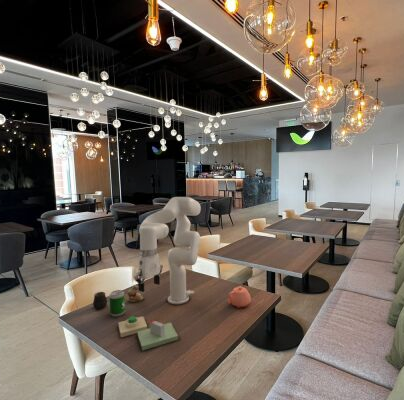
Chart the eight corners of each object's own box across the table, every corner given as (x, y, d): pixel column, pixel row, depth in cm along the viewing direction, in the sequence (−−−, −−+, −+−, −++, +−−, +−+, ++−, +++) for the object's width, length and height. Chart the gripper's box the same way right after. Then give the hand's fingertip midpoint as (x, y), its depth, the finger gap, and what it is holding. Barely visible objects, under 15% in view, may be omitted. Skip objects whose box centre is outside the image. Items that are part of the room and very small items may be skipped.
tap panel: (170, 326, 132) (170, 322, 131) (178, 339, 121) (178, 335, 121) (137, 335, 124) (137, 331, 124) (142, 350, 114) (141, 346, 113)
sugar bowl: (254, 306, 151) (254, 289, 150) (233, 312, 144) (233, 294, 143) (243, 297, 162) (243, 281, 160) (223, 302, 155) (223, 285, 154)
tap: (164, 334, 121) (164, 323, 121) (161, 337, 120) (160, 326, 119) (153, 329, 125) (153, 319, 125) (150, 332, 123) (149, 321, 123)
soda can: (120, 318, 139) (119, 296, 138) (107, 316, 141) (106, 295, 139) (128, 310, 146) (127, 290, 145) (115, 309, 148) (114, 288, 147)
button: (135, 318, 132) (135, 315, 132) (136, 322, 129) (136, 318, 129) (128, 320, 130) (127, 317, 130) (129, 324, 127) (128, 320, 127)
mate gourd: (107, 303, 155) (106, 286, 154) (107, 309, 148) (106, 292, 147) (94, 305, 153) (93, 288, 152) (92, 311, 146) (91, 294, 145)
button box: (143, 320, 137) (143, 312, 137) (147, 330, 128) (147, 322, 128) (118, 326, 132) (118, 318, 131) (120, 337, 123) (120, 329, 122)
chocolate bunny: (131, 297, 162) (131, 282, 161) (143, 298, 160) (143, 282, 159) (127, 302, 156) (126, 285, 155) (139, 303, 155) (138, 286, 154)
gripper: (139, 257, 115) (140, 296, 117) (167, 249, 130) (167, 283, 131) (128, 255, 119) (129, 292, 120) (156, 247, 134) (156, 280, 135)
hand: (149, 287), depth 126 cm, fingers open, 9 cm apart
